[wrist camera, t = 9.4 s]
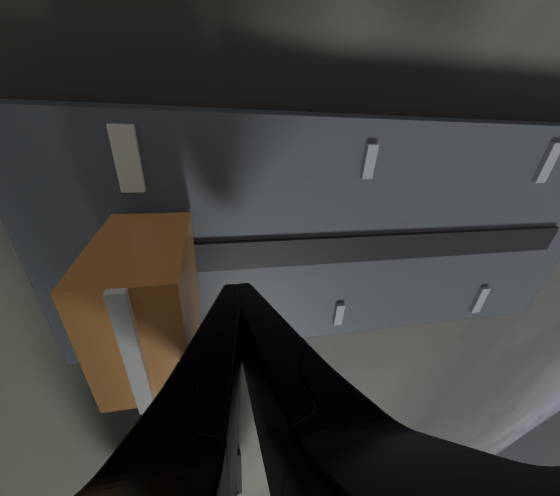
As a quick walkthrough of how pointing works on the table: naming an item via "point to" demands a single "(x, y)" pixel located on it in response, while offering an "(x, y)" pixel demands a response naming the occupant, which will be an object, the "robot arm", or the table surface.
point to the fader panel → (295, 205)
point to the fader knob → (131, 306)
